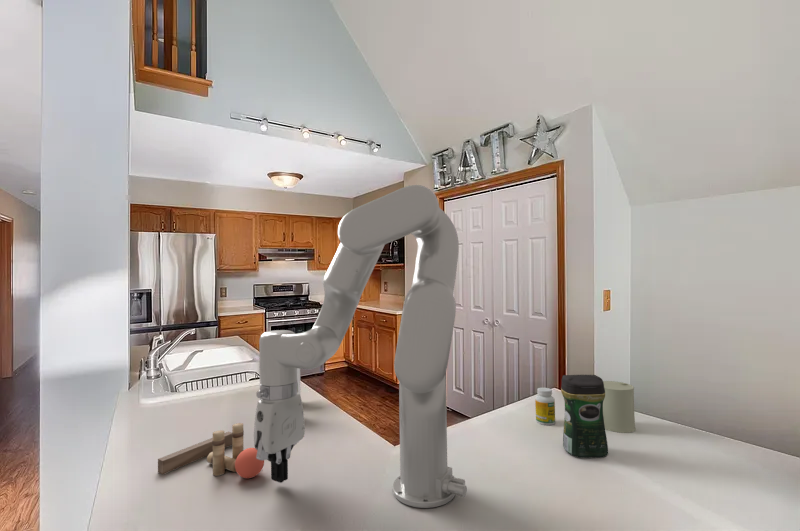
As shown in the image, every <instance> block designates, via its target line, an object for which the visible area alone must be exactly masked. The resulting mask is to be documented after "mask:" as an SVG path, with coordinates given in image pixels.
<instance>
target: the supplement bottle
mask: <svg viewBox="0 0 800 531" xmlns="http://www.w3.org/2000/svg"><path fill="white" fill-rule="evenodd" d="M536 394H537V395H536V396H535V397H534V398H535V400H534V402H535V404H534V405H535V421H536V423H537V424H539V425H542V426H553V425H555V424H556V403H555V398H554V396H552V394H553V390H552V389H551V388H548V387H538V388H537V393H536Z"/></svg>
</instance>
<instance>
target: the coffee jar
mask: <svg viewBox="0 0 800 531" xmlns="http://www.w3.org/2000/svg"><path fill="white" fill-rule="evenodd" d="M603 381H604V380H603V378H601V377H600V376H598V375H597V374H563V375H562V378H561V388H560V390H561V394H562V397H563V400H564V421H563V433H562V434H563V436H562V447H563V449H564V451H565V452H566V453H567V454H568V455H570V456H573V457H575V458H579V459H580V458H581V459H601V458H603V459H604V458H605V457H607V456H608V455H609V444H608V439H607V432H606V429H605V425H604V417H603V401H604V398H605V388H604V383H603Z"/></svg>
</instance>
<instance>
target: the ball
mask: <svg viewBox="0 0 800 531" xmlns="http://www.w3.org/2000/svg"><path fill="white" fill-rule="evenodd" d="M256 455H257V450H256V449H255V447H248V448H246V449H245V448H244V449H243V451H242V452H241V453H240V454H239V455H238V457H237V459H236V462H235V469H236V472H235V473H237V475H239V476H240V477H241V478H243V479H251V478H255V477H256V476H257V475H259V474H260V473H261V471H262V470H263V467H264V465H265V460H258V459H256ZM239 476H238V477H239Z"/></svg>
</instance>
